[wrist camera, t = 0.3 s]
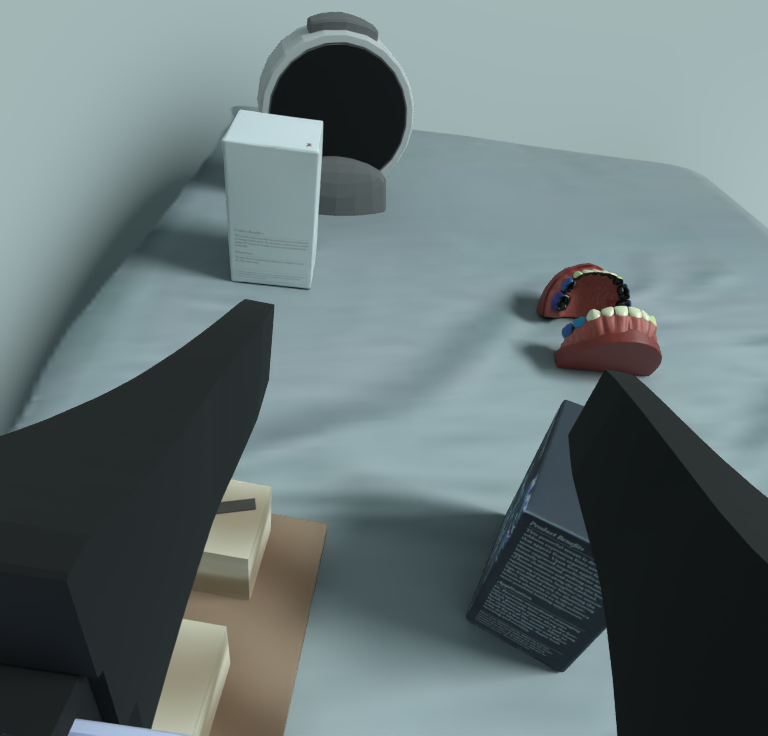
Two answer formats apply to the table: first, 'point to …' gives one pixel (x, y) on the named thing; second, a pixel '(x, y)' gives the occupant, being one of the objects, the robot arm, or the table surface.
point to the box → (543, 562)
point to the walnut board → (265, 630)
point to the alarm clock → (343, 106)
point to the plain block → (194, 679)
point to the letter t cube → (236, 541)
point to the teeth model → (600, 323)
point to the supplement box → (272, 197)
